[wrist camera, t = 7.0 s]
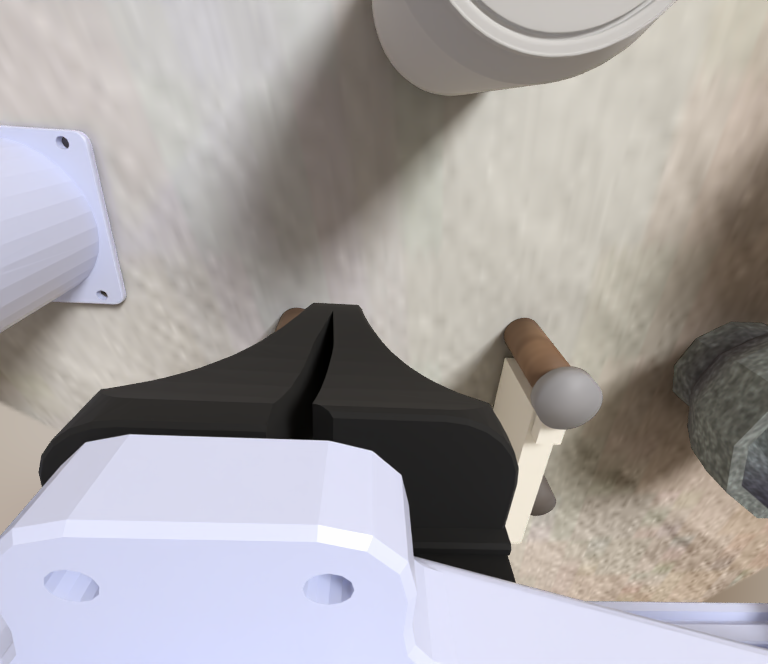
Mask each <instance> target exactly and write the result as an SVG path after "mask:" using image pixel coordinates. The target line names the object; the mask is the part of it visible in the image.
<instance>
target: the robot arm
mask: <svg viewBox="0 0 768 664" xmlns="http://www.w3.org/2000/svg"><path fill="white" fill-rule="evenodd" d="M62 137H65V138H66V139H67V140H68V142H69V147H68V148H66V147H65V146H64V145H63V143H62ZM101 290H102V291H104V292H106V294H107V295H108V297H105V296H104V295H102V293H101ZM125 298H126V291H125V286H124V282H123V278H122V273H121V269H120V265H119V260H118V256H117V252H116V247H115V243H114V239H113V234H112V230H111V226H110V221H109V217H108V213H107V208H106V204H105V200H104V195H103V191H102V187H101V182H100V178H99V174H98V169H97V165H96V161H95V156H94V152H93V148H92V144H91V141H90V139H89V138H88V136H87V135H86V134H84V133H83V132H81V131H77V130H65V129H50V128H36V127H21V126H6V125H0V333H1V332H3V331H4V330H6V329H7V328H9V327H11V326H12V325H14V324H16V323H17V322H19V321H20V320H22V319H24V318H25V317H27V316H29V315H30V314H32V313H33V312H35V311H37V310H38V309H40V308H42V307H43V306H45V305H46V304H48V303H50V302H71V303H94V304H119V303H121V302H122V301H124V300H125ZM518 473H519V467H518V463H517V459H516V455H515V452H514V450H513V447H512V445H511V442H510V440H509V438H508V435H507V434H506V432H505V430H504V428H503V426H502V424H501V422H500V421H499V419H498V418H497V416H496V414H495V413H494V411H493V409H492V407H491V405H490V404H489V403H486V402H483V401H480V400H477V399H474V398H471V397H468V396H466V395H463V394H460V393H457V392H455V391H452V390H450V389H448V388H446V387H444V386H441V385H439V384H437V383H435V382H433V381H432V380H430V379H428V378H426V377H424V376H423V375H421V374H420V373H418V372H417V371H415V370H413V369H412V368H410V367H409V366H408V365H406V364H405V363H404V362H403V361H401V360H400V359H399V358H398V357H397V356H395V355H394V354H393V353H392V352H391V351H390V350H389V349H388V348H387V347H386V346H385V344H384V343H383V342H382V341H381V340H380V338H379V337H378V336H377V334H376V333H375V332H374V330H373V329H372V327H371V326H370V324H369V323H368V321H367V319H366V318H365V316H364V314H363V311H362V309H361V308H360V306H359V305H347V304H327V303H313V304H311V305H310V306H309V307H307V308H306V309H305V310H304V311H303V312H301V313H300V314H299V315H298V316H296V317H295V318H294V319H292V320H291V321H290V322H289V323H287V324H286V325H285V326H283V327H282V328H280V329H279V330H277V331H276V332H274V333H273V334H271V335H270V336H268V337H267V338H265V339H264V340H262V341H260V342H258V343H257V344H255V345H253V346H251V347H249V348H247V349H245V350H243V351H241V352H239V353H237V354H235V355H233V356H230V357H228V358H225V359H222V360H220V361H217V362H215V363H212V364H209V365H207V366H204V367H201V368H198V369H195V370H191V371H188V372H185V373H181V374H177V375H173V376H170V377H166V378H162V379H157V380H153V381H148V382H142V383H136V384H131V385H125V386H120V387H114V388H107V389H101V390H100V391H99V392H98V393H97V394H96V395H95V396H94V397H93V398H92V399H91V400H90V401H89V402H88V403H87V404H86V405H85V406H84V407H83V408H82V409H81V410H80V411H79V412H78V413H77V414H76V416H75V417H74V418H73V419H72V420H71V421H70V422H69V423H68V424H67V425H66V426H65V427H64V428H63V429H62V430H61V431H60V432H59V433H58V434H57V435H56V436H55V437H54V438H53V439H52V441H51V442H50V443H49V445H48V446H47V448H46V449H45V451H44V453H43V454H42V456H41V461H40V467H39V476H40V480H41V485H42V488H41V489H40V490H39V492H38V493H37V494H36V495H35V496H34V497H33V499H32V500H31V501H30V502H29V503H28V504H27V505H26V507H25V508H24V509H23V510H22V511H21V512H20V513H19V515H18V516H17V517H16V518H15V519H14V520H13V522H12V523H11V524H10V525H9V526H8V527H7V529H6V530H5V531H4V532H3V533H2V534H1V535H0V664H768V603H707V602H625V601H583V600H579V599H575V598H571V597H567V596H564V595H560V594H556V593H552V592H548V591H545V590H541V589H537V588H533V587H529V586H526V585H522V584H518V583H516V582H515V578H514V575H513V572H512V569H511V565H510V562H509V559H508V555H510V552H511V543H510V540H509V536H508V533H507V530H506V527H505V525H506V521H507V518H508V514H509V511H510V508H511V504H512V501H513V497H514V494H515V490H516V487H517V482H518Z"/></svg>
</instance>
